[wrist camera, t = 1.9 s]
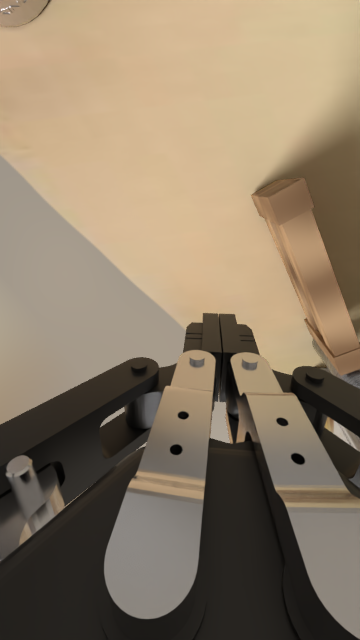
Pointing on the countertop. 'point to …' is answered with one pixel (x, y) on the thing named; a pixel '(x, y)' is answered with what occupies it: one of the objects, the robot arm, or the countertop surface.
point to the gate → (309, 269)
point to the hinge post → (353, 378)
